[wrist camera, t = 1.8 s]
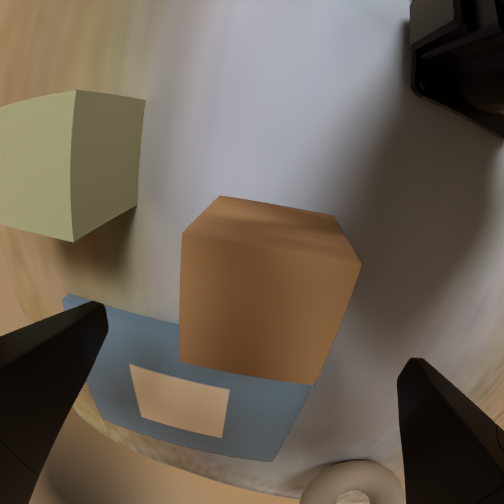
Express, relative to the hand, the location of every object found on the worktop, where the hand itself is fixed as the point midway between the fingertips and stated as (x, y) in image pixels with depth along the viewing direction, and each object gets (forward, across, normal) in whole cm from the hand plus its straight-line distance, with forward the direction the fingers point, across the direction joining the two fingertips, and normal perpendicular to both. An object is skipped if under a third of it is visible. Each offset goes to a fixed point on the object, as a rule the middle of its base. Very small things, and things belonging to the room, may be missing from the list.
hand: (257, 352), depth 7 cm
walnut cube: (+6, 0, 0) cm, 6 cm away
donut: (+6, -12, +20) cm, 24 cm away
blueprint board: (+6, +4, +12) cm, 14 cm away
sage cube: (+6, +9, -4) cm, 12 cm away
